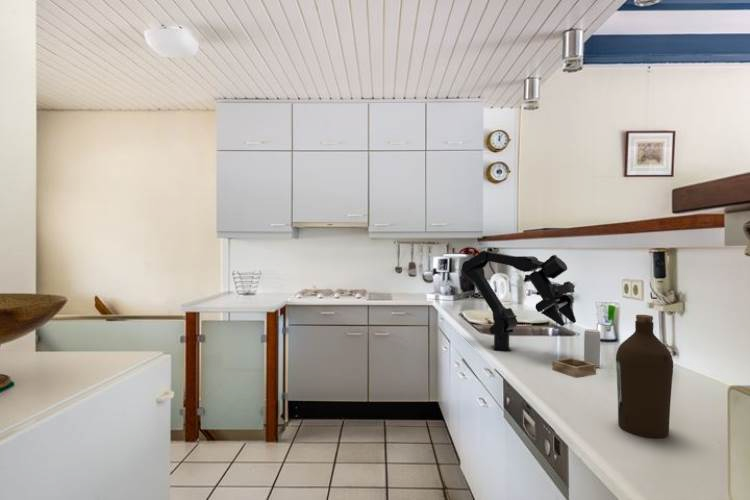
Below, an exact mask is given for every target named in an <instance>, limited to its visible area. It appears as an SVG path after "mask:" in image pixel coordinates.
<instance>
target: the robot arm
mask: <svg viewBox="0 0 750 500" xmlns="http://www.w3.org/2000/svg"><path fill="white" fill-rule="evenodd" d="M489 262H491V263H495V264H501V265H504V266H505V265H506V266H510V267H513V268H514V269H516V270H517V271H520V272H523V273H525V272H526V273H530V272H531V273H530V274H525V275H524V279H523V282H524V283H529V282H531V285H533V287H534V289H535V290H536V292H535V294H536V296H539V297H540V298H541V299H542V300H540V301H539V302H537V303H536V304H535V310H536V312H538V313H540V314H542V315H544V316H546V317H547V318H549V319H551V321H554V322H555V323H557V325H559V326H561V327H564V326H565V321H564V320H563V318H562V316H564V317H565V318H566V319H568V321H570V322H571V323H573V324H575V323H576V322H577V319H576V316H575V314H574V310H573V303H574V300H575V298H574V296H573V295H572V294H570V293H576V292H575V287H576V286H575V285H574V283H573V282H571V281H569V280H568V281H565V282H563V284H560V285H557V284H556V283H552V281H551V280H550V279H553V280H554V279H556V278H557V277H559V276H560V275H561V274H563V273H565V272H566V271H568V266H567V264H566V262H564V261H563V260H562V259H561V258H560V257H558V256H557V255H556V254H552V255H551V256H550V257H549V258H548V259H547V260H545V261H542V260H539V259H538V258H537V257H536V256H532V255H531V256H525V255H522V256H520V255H519V256H517V255H510V254H505V253H500V252H494V251H491V250H482V251H480V252H478V254H476V255H475V256H473V257H471V258H469V259H468V260H465V261H464V262H463V263H462V264H461V271H462V273H463V274H464V275H465V276H466V278H468V279H469V280H470V281H472V282H473V283H474V285H475V287H476V288H477V289H478V291H479V292H480V294H481V296H482V298H483V299H484V301H485V302H486V303H487V306H488V307H489V308H490V310H491V312H492V320H493V322H494V323H493V324H492V325H491V326H490V327H489V333H490V334H491V335H493V344H492V345H491V347H492V349H493V351H504V352H505V351H506V352H508V351H509V352H512V348H511V347H510V334H512V333H513V332H514V330H515V328H517V326H518V319H517V317H518V316H517V315H516V314H515V313H514V311H513V309H512V308H511V307H509V308H506V307H505V306H504V305H503V304H502V302H501V301H500V298H499V297H498V295H497V294H496V292H495V291H494V290H493V288H492V286H491V285H490V283H489V281H488V280H487V278H486V275H485V269H484V268H485V267H486V266H488V263H489ZM537 270H538V271H537ZM560 313H561V314H560ZM561 315H562V316H561Z"/></svg>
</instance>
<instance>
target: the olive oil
mask: <svg viewBox="0 0 750 500" xmlns="http://www.w3.org/2000/svg"><path fill="white" fill-rule="evenodd" d="M635 319H636V320H635V321H634V322H635V326H634V329H635V331H634V332H633V333H632V334H631V335H630V336H628V338H626V339H625V340H624V341H622V342H621V344H620V345H619V347H618V349H617V351H616V354H615V367H616V389H617V392H616V393H617V394H616V395H617V421H618V426H619V428H621V429H622V430H623V431H625V432H628V433H630V434H633V435H636V436H638V437H639V436H640V437H644V438H648V439H649V438H650V439H663V438H666V437H668V436H669V435H670V421H671V420H670V415H671V400H672V385H673V375H674V360H673V356H672V354H671V351H670V350H669V348H668V347H666V345H665V344H664V343H663V342H661V340H660V339H659V338H658V337H657V336H656V335H655V333H654V322H653V321H654V316H652V315H650V314H636V315H635Z"/></svg>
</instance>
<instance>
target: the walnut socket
mask: <svg viewBox="0 0 750 500" xmlns="http://www.w3.org/2000/svg"><path fill="white" fill-rule="evenodd" d="M551 368H552V369H551V370H553V371H556V372H557V373H558V372H559V373H561V374H565V375H567V376H570V377H574V378H580V377H585V376H586V377H587V376H591V375H596V374H597V368H596V365H595V364H592V363H588V362H585V361H584V360H580V359H578V358H573V357H569V358H568V357H567V358H562V359H561V358H560V359H555V360H552V367H551Z"/></svg>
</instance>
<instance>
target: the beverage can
mask: <svg viewBox="0 0 750 500" xmlns="http://www.w3.org/2000/svg"><path fill="white" fill-rule="evenodd" d="M583 334H584V336H583V337H584V339H583V346H584V347H583V348H584V349H583V361H585V362H588V363H592V364H595V365H596V369H598V368H599V367H600V366H601V331H600V330H598V329H585V330H584V333H583Z"/></svg>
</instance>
